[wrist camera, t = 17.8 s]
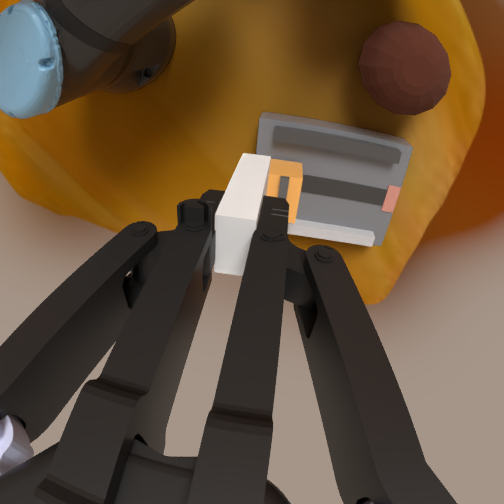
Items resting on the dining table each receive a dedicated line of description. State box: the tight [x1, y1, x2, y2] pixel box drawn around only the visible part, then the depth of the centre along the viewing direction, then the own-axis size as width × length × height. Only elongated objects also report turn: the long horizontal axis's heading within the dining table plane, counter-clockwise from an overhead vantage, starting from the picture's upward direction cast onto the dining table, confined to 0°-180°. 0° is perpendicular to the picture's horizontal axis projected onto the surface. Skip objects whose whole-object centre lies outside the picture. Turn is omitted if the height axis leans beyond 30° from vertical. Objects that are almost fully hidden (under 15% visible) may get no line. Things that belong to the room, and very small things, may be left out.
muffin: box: [359, 21, 451, 115], centre depth 28 cm, size 12×11×10 cm
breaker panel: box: [256, 112, 413, 247], centre depth 41 cm, size 20×16×6 cm
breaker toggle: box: [266, 159, 303, 224], centre depth 38 cm, size 4×6×6 cm, turn 175°
